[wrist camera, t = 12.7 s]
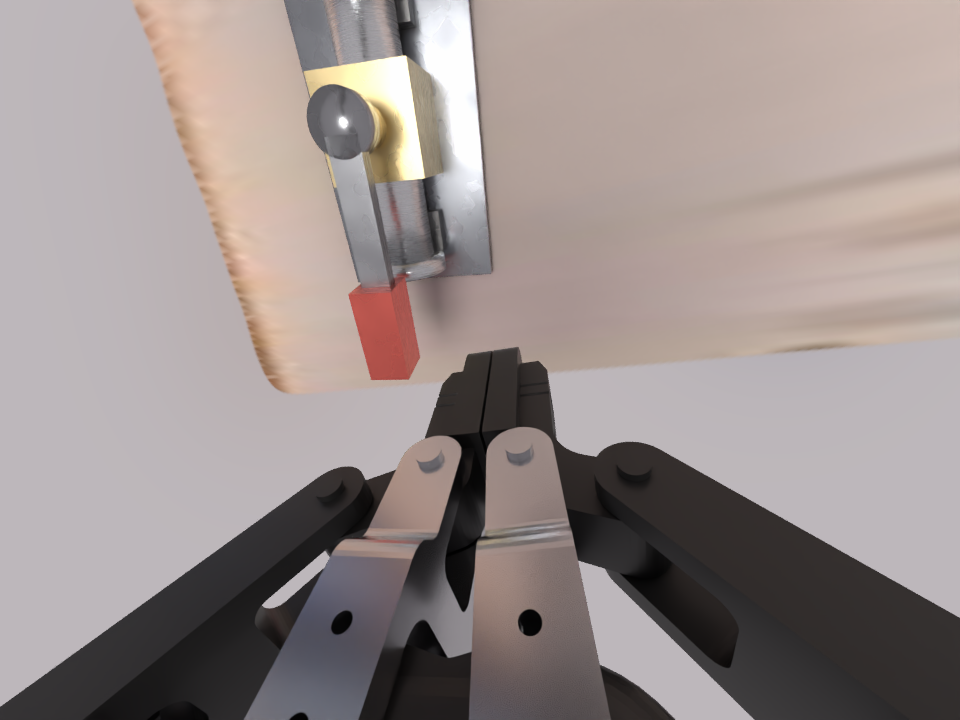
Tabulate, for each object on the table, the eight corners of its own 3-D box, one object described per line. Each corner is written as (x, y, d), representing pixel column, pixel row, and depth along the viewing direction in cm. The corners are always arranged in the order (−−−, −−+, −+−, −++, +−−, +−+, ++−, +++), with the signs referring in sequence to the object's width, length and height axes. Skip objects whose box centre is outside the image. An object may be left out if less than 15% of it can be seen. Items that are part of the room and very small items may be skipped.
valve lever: (317, 93, 20) (285, 84, 17) (374, 85, 19) (351, 76, 17) (382, 358, 27) (367, 379, 25) (423, 357, 27) (413, 379, 24)
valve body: (275, -60, 23) (151, -163, 16) (461, -99, 22) (426, -236, 14) (362, 278, 34) (314, 317, 26) (492, 270, 32) (481, 308, 25)
